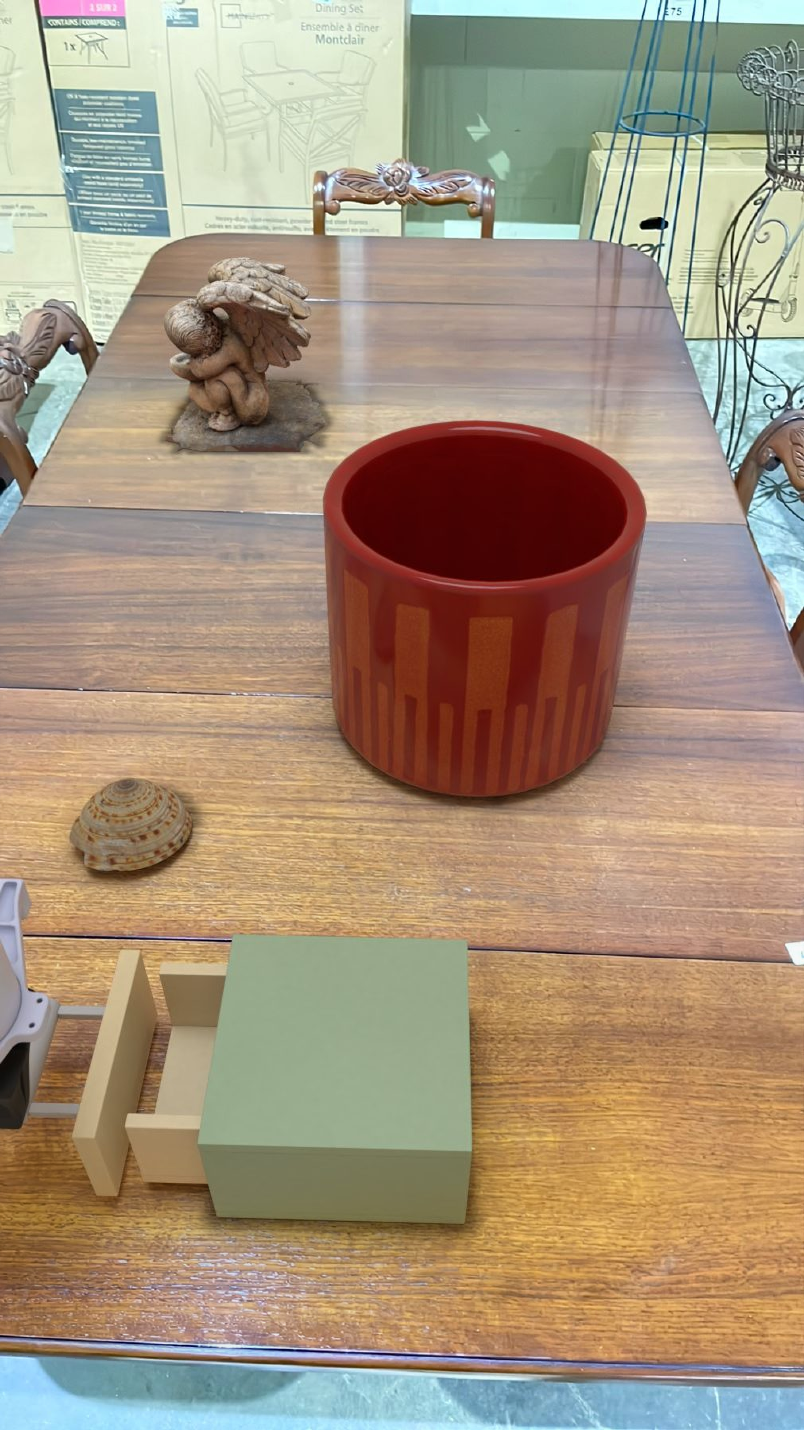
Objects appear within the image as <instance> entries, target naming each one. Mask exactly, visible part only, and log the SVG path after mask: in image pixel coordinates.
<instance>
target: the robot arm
mask: <svg viewBox="0 0 804 1430" xmlns="http://www.w3.org/2000/svg"><path fill="white" fill-rule="evenodd" d="M32 904H33V902H32V899H31V897H30V894H29V892H28V889H27V886H26V883H25V881H24V879H23V878H0V1130H20V1129H22V1128H23V1125H24V1124H23V1121H24V1118H25V1115H26V1111H27V1108H28V1105H29V1099H30V1079H29V1053H30V1043H31V1042H33V1041H37V1040H38V1039H40V1038H41V1037H42V1035H43V1034H44V1032H45V1029H46V1026H47V1022H48V1019H49V1016H50V1013H51V1002H50V1000H49V998H50V997H49V996H48V995H47V994H46V993H44V992H42V991H40V992H39V991H36V990H35V989H33V988H31V987H28V986H29V984H28V976H27V975H28V974H27V965H26V954H25V952H26V951H25V944H24V933H23V932H24V931H23V922H22V921H24V920H26V919H27V918H28V916H29V914H30V910H31V908H32Z"/></svg>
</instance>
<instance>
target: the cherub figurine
mask: <svg viewBox="0 0 804 1430" xmlns="http://www.w3.org/2000/svg"><path fill="white" fill-rule="evenodd" d="M286 268H287V267H285V266H284V265H283V264H280V263H264V262H260V261H257V260H254V259H252V258H251V257H235V258H233V257H232V258H225V259H223V260H221V261H218V262H216V263H214V264H213V265H212V266H211V267H210V268H209V270H208V272H207V281H208V284H206V285H205V286H204V287H201V288H200V290H199V292H198V293H197V295H196V299H193V298H189V299H186V300H182V301H180V302H179V303H177V304H175V305H174V306H172V307H170V308H169V309H168V310H167V311H166V313H165V316H164V319H163V326H164V327H163V328H164V331H165V334H166V335H167V337H168V339H169V341H170V342H171V343H172V344H173V345H174V346H175V347H176V348H177V349H178V350H179V351H180V352H181V353H178V354H175V355H174V356H172V357H171V358H170V359H169V368H170V370H171V371H172V372H173V374H175V375H176V376H177V377H179V378H180V379H183V380H186V381H189V386H188V391H187V392H188V397H189V398H190V399H191V401H190V402H189V403H188V404H187V405H186V406H185V407H184V412H183V413H182V415H180V417H179V419H177V422H176V423H175V425H174V428H170V431H168V432H167V433H168V434H172V435H170V436H166V437H165V441H167V442H171V443H173V444H174V443H175V444H178V448H177V451H180V450H182V449H187V450H192V452H196V451H198V452H303V451H301V449H302V447H303V446H304V444H305V441H309V442H311V443H314V444H316V445H319V443H320V436H317V437H312V435H314V434H315V433H317V431H319V430H321V429H323V427H324V426H325V425H326V420H325V417H324V415H323V413H322V412H321V411H319V406H320V404H319V403H318V402H317V401H313V399H312V396H311V393H310V392H309V390H308V389H306V388H305V387H306V386H307V385H309V384H311V382H310V383H309V382H308V383H306V384H298V382H293V381H292V382H291V381H280V380H279V381H277V380H270V379H268V380H267V376H266V372H267V371H268V369H269V368H270V366H273V367H278V368H282V369H287V368H289V367H291V362H297V361H301V359H302V358H303V355H302V352H301V351H300V349H299V348H298V347H302V348H308V347H309V345H310V340H311V339H312V335H311V332H309V331H308V330H307V329H306V328H305V326H303V325H302V324H301V323H300V322H299V321H305V320H306V319H308V318H309V317H311V315H312V309H311V306H310V305H309V304H308V303H307V302H306V301H305V300H306V298H308V297H309V295H310V292H309V289H308V288H307V287H305V286H304V285H303V284H302V283H300V282H299V281H296V280H294V279H290V277H288V276H286ZM215 309H222V310H223V311H224V312H220V311H219V312H216V311H215ZM298 320H299V321H298Z"/></svg>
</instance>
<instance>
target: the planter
mask: <svg viewBox="0 0 804 1430" xmlns="http://www.w3.org/2000/svg"><path fill="white" fill-rule="evenodd" d="M647 511H648V510H647V504H646V499H645V496H644V494H643V491H642V490H641V487H640V485H639V483H638V482H637V481H636V480H635V478H634V477H633V475H631V473H630V472H629V471H628V470H627V469H626V468H625V467H624V466H623V465H621V463H619V462H618V461H617V460H616V459H615V458H613V457H612V456H610V455H608V453H606V452H604V451H603V450H601V449H599V448H597V447H595V446H593V445H592V444H589V443H587V442H586V441H584V440H581V439H578V438H575V437H573V436H570V435H568V434H566V433H563V432H559V431H555V430H551V429H549V428H544V427H540V426H536V425H535V426H534V425H530V424H525V423H520V422H519V423H518V422H517V423H516V422H510V421H501V420H483V419H482V420H480V419H472V420H471V419H469V420H448V421H441V422H433V423H432V422H431V423H426V424H420V425H415V426H410V427H408V428H405V429H401V430H397V431H394V432H390V433H388V434H386V435H384V436H380V437H378V438H375V439H374V440H371V441H370V442H368V443H366V444H364V445H363V446H360V447H359V448H357V449H355V450H354V451H353V452H352V453H351V454H349V455H348V456H347V457H345V458H344V459H343V460H342V461H341V462H340V464H339V465H337V466H336V467H335V469H334V470H333V472H332V474H330V476H329V478H328V480H327V481H326V484H325V487H324V491H323V495H322V515H323V537H324V538H323V539H324V560H325V561H324V562H325V580H326V581H325V582H326V583H325V585H326V587H325V588H326V605H327V629H328V647H329V649H328V650H329V665H330V667H329V668H330V683H331V685H330V686H331V701H332V710H333V714H334V716H335V720H336V723H337V725H338V727H339V729H340V731H341V733H342V734H343V735H342V736H344V738H345V739H346V741H347V742H348V743H349V744H350V745H351V747H352V748H353V749H354V750H355V752H356V753H357V754H359V755H360V756H361V758H363V759H365V761H367V762H368V763H369V764H370V765H371V766H373V767H375V768H376V769H377V770H379V771H381V772H383V773H385V774H386V775H388V776H389V777H390V778H394V779H396V780H398V781H400V782H402V783H405V784H407V785H409V786H412V787H416V788H419V789H422V790H425V791H429V792H433V793H438V794H444V795H450V796H457V797H473V798H482V797H484V798H485V797H502V796H507V795H513V794H518V793H524V792H528V791H531V790H534V789H537V788H541V787H545V786H547V785H549V784H551V783H553V782H556V781H558V780H559V779H562V778H564V777H566V776H567V775H569V774H570V773H572V772H573V771H575V770H576V769H578V768H579V767H580V766H581V765H582V764H584V763H585V762H586V761H587V760H588V759H589V758H590V757H591V756H592V755H594V753H595V751H596V750H597V749H598V748H599V746H600V745H601V743H602V741H603V740H604V738H605V736H606V734H607V731H608V729H609V727H610V724H611V720H612V714H613V708H614V704H615V698H616V693H617V687H618V682H619V678H620V677H619V676H620V671H621V665H622V661H623V655H624V651H625V650H624V649H625V643H626V638H627V632H628V627H629V621H630V616H631V609H632V605H633V600H634V593H635V589H636V588H635V587H636V581H637V576H638V569H639V565H640V559H641V552H642V546H643V540H644V534H645V529H646V522H647V516H648V512H647Z"/></svg>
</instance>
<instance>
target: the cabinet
mask: <svg viewBox="0 0 804 1430" xmlns="http://www.w3.org/2000/svg"><path fill="white" fill-rule="evenodd" d="M468 943H469V941H468V939H458V938H457V939H456V938H455V939H454V938H453V939H452V938H419V937H418V938H417V937H416V938H415V937H414V938H412V937H376V936H375V937H373V936H372V937H369V936H329V935H328V936H327V935H326V936H325V935H290V934H289V935H288V934H287V935H285V934H247V933H246V934H245V933H244V934H242V933H233V934H232V939H231V945H230V950H229V955H228V961H227V964H228V967H227V973H226V978H225V984H224V990H223V996H222V1002H221V1008H220V1013H219V1019H218V1025H217V1031H216V1037H215V1043H214V1048H213V1054H212V1060H211V1066H210V1072H209V1078H208V1083H207V1089H206V1095H205V1101H204V1107H203V1112H202V1118H201V1124H200V1130H199V1136H198V1142H197V1145H198V1149H199V1152H200V1155H201V1159H202V1163H203V1167H204V1171H205V1174H206V1178H207V1182H208V1184H207V1185H208V1189H209V1193H210V1196H211V1200H212V1204H213V1208H214V1211H215V1215H216V1217H217V1218H236V1219H237V1218H239V1219H272V1220H273V1219H274V1220H276V1219H277V1220H308V1221H309V1220H313V1221H341V1222H342V1221H343V1222H346V1221H349V1222H379V1223H380V1222H383V1223H385V1222H386V1223H414V1224H415V1223H416V1224H417V1223H419V1224H450V1225H451V1224H454V1225H455V1224H456V1225H464V1224H465V1223H466V1217H467V1216H466V1215H467V1207H468V1197H469V1187H470V1177H471V1167H472V1158H473V1121H472V1117H473V1116H472V1115H473V1114H472V1079H471V1078H472V1076H471V1073H472V1072H471V1038H470V1037H471V1036H470V1035H471V1034H470V1033H471V1032H470V994H469V993H470V991H469V989H470V988H469V987H470V986H469V951H468V950H469V948H468V947H469V945H468Z"/></svg>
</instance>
